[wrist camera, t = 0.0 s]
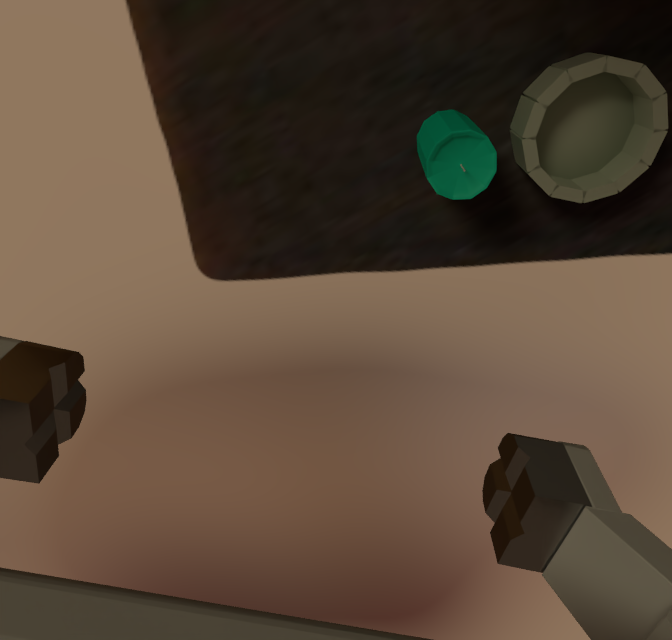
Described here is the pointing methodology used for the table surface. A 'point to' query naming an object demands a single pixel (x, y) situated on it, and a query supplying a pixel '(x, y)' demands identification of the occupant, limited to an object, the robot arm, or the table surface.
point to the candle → (456, 155)
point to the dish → (589, 126)
